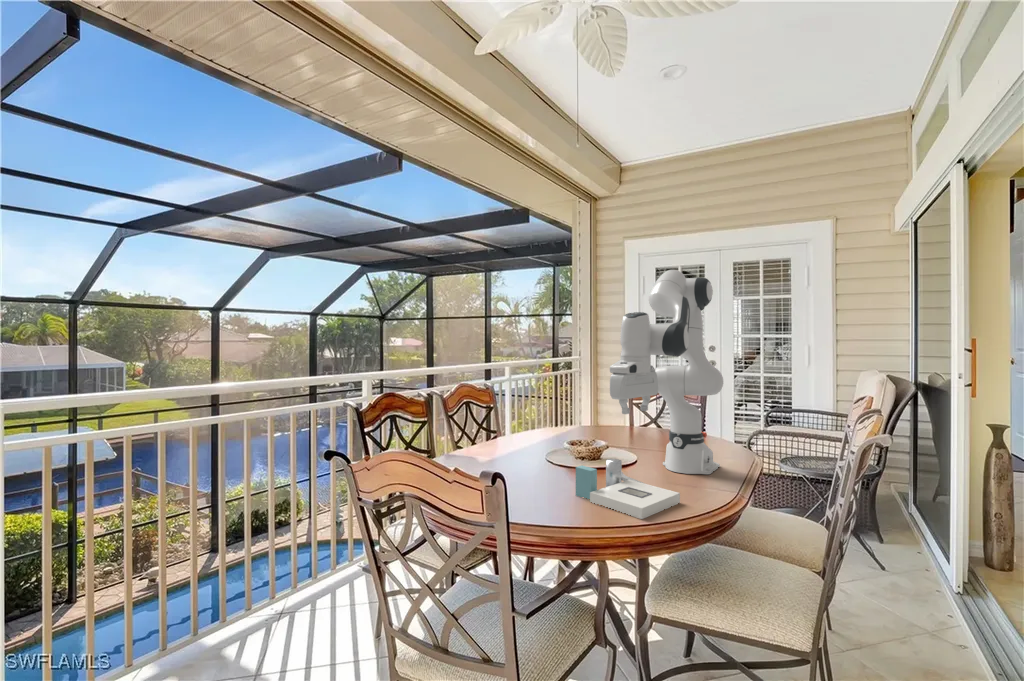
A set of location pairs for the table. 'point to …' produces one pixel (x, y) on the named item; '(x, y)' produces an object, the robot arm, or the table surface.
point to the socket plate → (635, 498)
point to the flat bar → (585, 481)
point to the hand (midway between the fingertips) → (635, 412)
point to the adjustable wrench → (628, 478)
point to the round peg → (613, 471)
